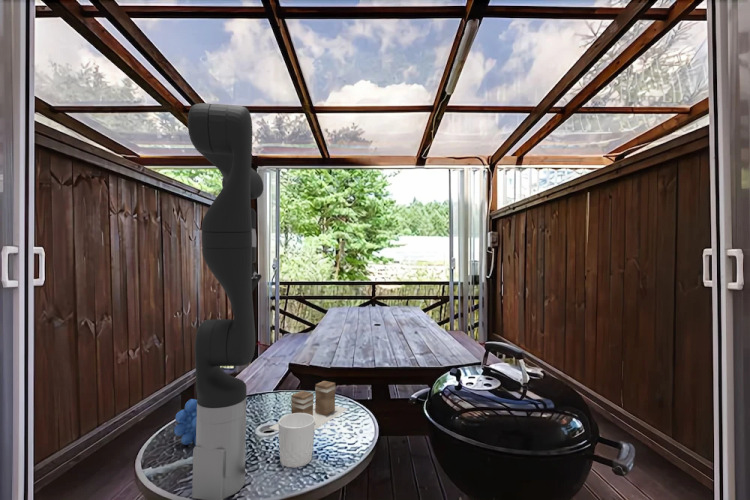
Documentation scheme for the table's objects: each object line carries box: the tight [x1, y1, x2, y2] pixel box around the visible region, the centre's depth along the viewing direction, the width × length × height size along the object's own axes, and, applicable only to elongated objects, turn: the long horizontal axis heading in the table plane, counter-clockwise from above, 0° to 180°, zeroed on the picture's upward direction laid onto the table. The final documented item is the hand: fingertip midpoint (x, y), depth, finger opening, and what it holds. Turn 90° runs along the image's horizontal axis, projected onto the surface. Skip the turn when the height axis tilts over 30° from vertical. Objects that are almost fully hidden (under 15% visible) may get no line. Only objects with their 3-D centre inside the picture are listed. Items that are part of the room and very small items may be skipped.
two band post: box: [290, 390, 315, 416], centre depth 99 cm, size 4×4×8 cm
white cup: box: [278, 413, 315, 468], centre depth 82 cm, size 8×8×10 cm
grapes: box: [173, 398, 197, 446], centre depth 92 cm, size 12×7×12 cm, turn 95°
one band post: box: [314, 380, 337, 416], centre depth 108 cm, size 4×4×8 cm
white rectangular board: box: [269, 403, 349, 432], centre depth 104 cm, size 11×21×2 cm, turn 150°
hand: (240, 309), depth 101 cm, fingers closed
